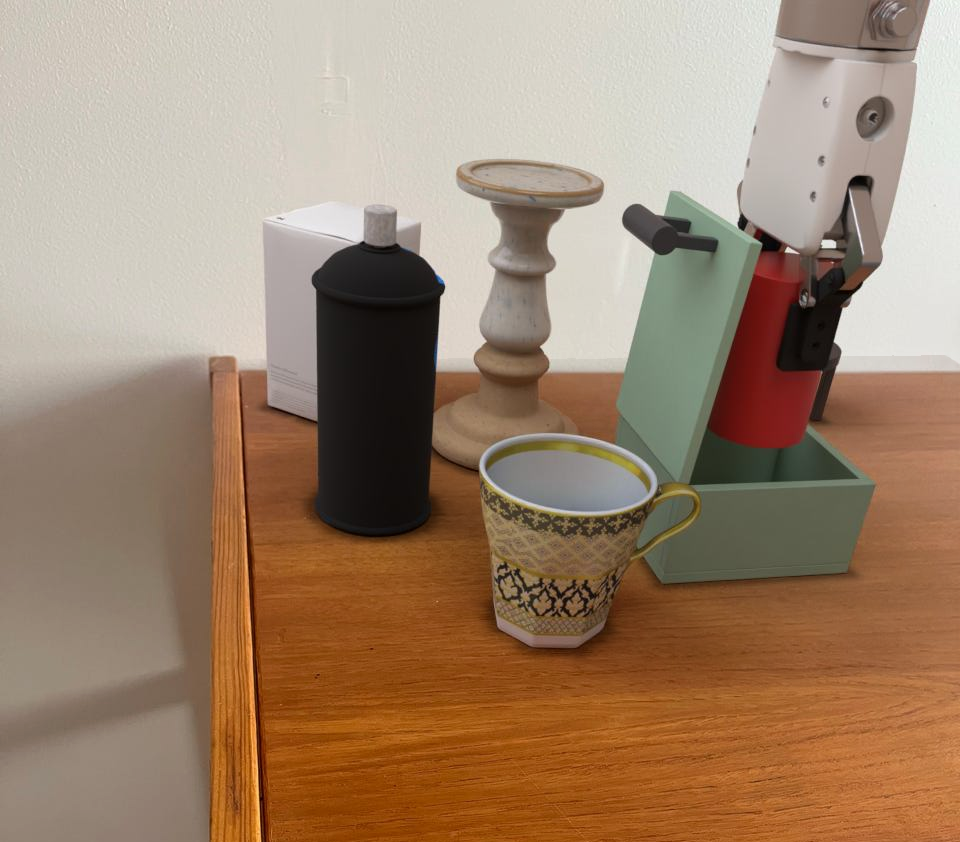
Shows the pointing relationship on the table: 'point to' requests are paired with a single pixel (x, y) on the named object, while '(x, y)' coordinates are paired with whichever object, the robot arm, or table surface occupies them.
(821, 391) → the stool
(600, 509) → the ceramic cup
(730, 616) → the table surface
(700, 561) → the green open box
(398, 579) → the table surface
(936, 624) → the table surface
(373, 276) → the aerosol can
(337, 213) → the rectangular carton
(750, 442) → the can
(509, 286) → the candle holder
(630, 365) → the lid
